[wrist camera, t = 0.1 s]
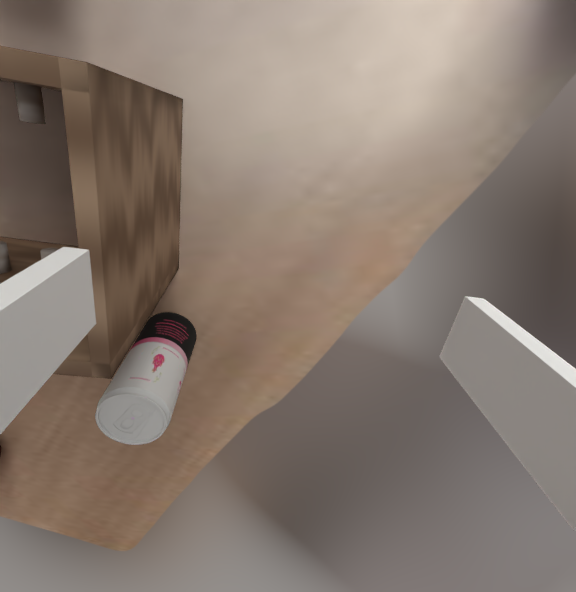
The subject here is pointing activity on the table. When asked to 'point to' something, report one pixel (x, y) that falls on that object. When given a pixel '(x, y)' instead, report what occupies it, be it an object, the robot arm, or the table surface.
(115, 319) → the bookcase frame
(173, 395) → the beverage can
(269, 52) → the table surface
